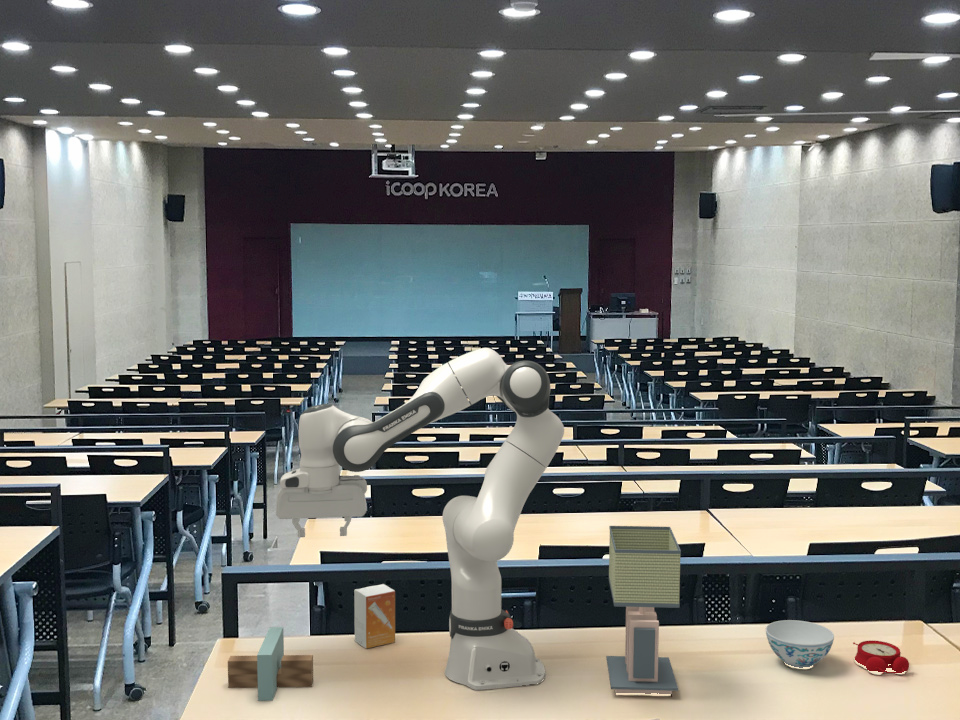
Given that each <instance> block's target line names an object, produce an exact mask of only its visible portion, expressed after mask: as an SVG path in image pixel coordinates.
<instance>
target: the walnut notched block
mask: <svg viewBox="0 0 960 720" xmlns="http://www.w3.org/2000/svg"><path fill="white" fill-rule="evenodd" d="M276 681H277V688H312V687H313V684H314V654H295V655H294V654H291V655H290V654H284V655H283V657H282V660H281V668H279V671H278V673H277V676H276ZM227 684H228V685H227V688H229V689H230V688H231V689H233V688H234V689H235V688H237V689H242V688H243V689H245V688H246V689H247V688H250V689H252V688H253V689H254V688H257V689H258V672H257V655H230V656H229V658H228V660H227Z"/></svg>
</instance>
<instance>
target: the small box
mask: <svg viewBox="0 0 960 720" xmlns="http://www.w3.org/2000/svg"><path fill="white" fill-rule="evenodd" d="M353 592H354V596H353V597H354V603H353V604H354V608H353V609H354V642H355V643H357V644H359V645H360V646H361V647H363V648H365V649H367V650H368V649H370V648H371V649H372V648H374V647H379V646H383V645H389V644H394V643H395V642H396V591H395V589H393V588H391V587H389V586H388V585H386V584H385V583H382V584H377V585H371V586H370V585H369V586H366V587H362V588H356V589H354V591H353Z"/></svg>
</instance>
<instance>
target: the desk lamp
mask: <svg viewBox="0 0 960 720" xmlns="http://www.w3.org/2000/svg"><path fill="white" fill-rule="evenodd" d="M608 549H609V552H608V553H609V554H608V557H609V558H608V561H609V562H608V565H609V566H608V583H609V586H610V593H611V597H612V601H613V602H612V603H613V607H619V608H620V607H621V608H622V607H625V638H624V639H625V643H624V644H625V649H624V650H625V651H624V653H625V654H624V655H606V664H607V665H606V667H607V671H608V677H609V683H610V690H614V692H615V691H616V693H645V694H651V693H657V694H658V693H659V694H672V695H673V691H676V692H679V686H678V682H677V679H676V675H675V673H674V669H673V666H672V662H671V660H670V657H668V656H667V657H666V656H659V639H660V630H659V629H660V622H659V621H660V620H658V615H657V611H655V608H671V609H672V608H673V609H676V608H677V609H679V608H680V605H681V603H680V594H681V593H680V591H681V590H680V589H681V588H680V585H681V584H680V582H681V579H680V578H681V554H682V551H681V547H680V546H679V544H678V541H677V539H676V537H675V534H674V532H673V530H672V528H671V526H651V525H650V526H649V525H647V526H646V525H645V526H644V525H643V526H640V525H639V526H637V525H609V548H608Z"/></svg>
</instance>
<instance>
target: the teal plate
mask: <svg viewBox="0 0 960 720" xmlns="http://www.w3.org/2000/svg"><path fill="white" fill-rule="evenodd" d="M284 636H285V635H284V627H283V626H269V629H268V630H267V633H266V635H265V637H264V639H263V642H262V643H261V645H260V647H259V650H258V653H257V654H256V656H257V672H258V688H257V701H258V702H259V701H260V702H261V701H262V702H263V701H265V702H266V701H268V702H269V701H273V699H274V698H275V694H276V692H277V689H278V687H277V681H276V676H277V673H278V671H279V668H281V660H282V657H283V655H285V649H284V646H285V645H284V641H285V639H284Z"/></svg>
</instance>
